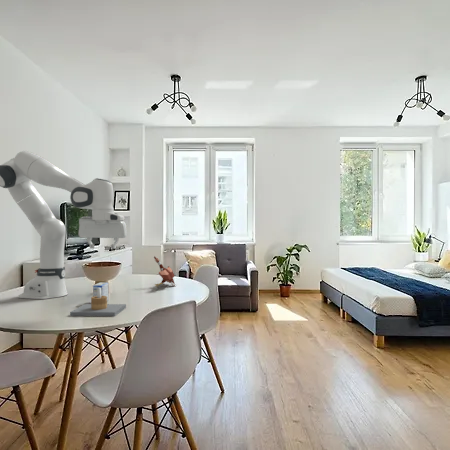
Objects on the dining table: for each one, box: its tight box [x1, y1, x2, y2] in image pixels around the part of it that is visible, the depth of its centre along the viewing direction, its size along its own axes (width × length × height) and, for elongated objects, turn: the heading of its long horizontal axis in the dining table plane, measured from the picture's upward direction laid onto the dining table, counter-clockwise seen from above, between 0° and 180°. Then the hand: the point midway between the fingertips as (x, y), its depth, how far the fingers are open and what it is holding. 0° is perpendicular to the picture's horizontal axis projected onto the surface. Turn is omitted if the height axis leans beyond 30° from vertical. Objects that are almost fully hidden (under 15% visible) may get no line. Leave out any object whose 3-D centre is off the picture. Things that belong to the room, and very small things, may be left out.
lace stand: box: [69, 288, 127, 317], centre depth 150 cm, size 18×14×10 cm
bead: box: [90, 296, 108, 310], centre depth 150 cm, size 6×6×4 cm
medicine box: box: [92, 282, 109, 302], centre depth 167 cm, size 8×4×9 cm, turn 178°
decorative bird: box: [153, 255, 176, 287], centre depth 208 cm, size 28×18×15 cm, turn 178°
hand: (102, 248), depth 156 cm, fingers open, 8 cm apart
